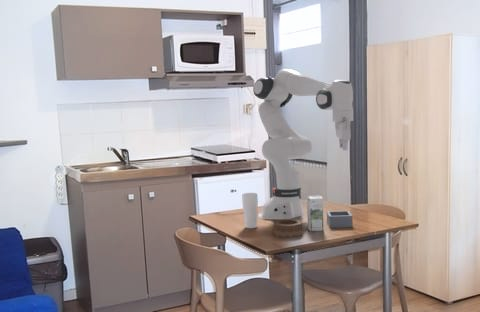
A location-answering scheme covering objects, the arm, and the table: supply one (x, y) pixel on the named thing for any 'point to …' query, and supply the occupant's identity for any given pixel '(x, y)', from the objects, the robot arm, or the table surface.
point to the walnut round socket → (288, 228)
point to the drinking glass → (250, 209)
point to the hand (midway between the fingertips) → (343, 148)
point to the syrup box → (315, 213)
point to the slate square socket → (339, 219)
